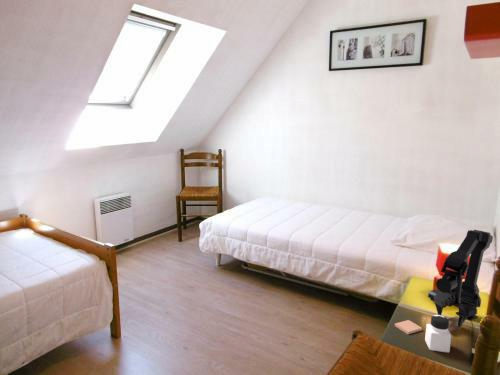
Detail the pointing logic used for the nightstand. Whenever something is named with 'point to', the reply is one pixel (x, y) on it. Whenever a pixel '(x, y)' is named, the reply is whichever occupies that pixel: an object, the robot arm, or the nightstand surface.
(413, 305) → the nightstand surface
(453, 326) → the turner
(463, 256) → the robot arm
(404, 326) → the tile
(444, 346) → the medicine bottle
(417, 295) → the nightstand surface
